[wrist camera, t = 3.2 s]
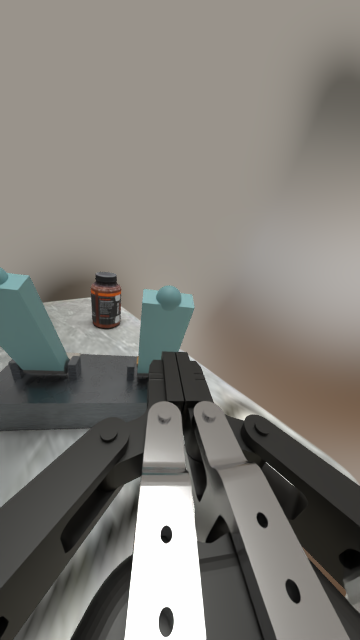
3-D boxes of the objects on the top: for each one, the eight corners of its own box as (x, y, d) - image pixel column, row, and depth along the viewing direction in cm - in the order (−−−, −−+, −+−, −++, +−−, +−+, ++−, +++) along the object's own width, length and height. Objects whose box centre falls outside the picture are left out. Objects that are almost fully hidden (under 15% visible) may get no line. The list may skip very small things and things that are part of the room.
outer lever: (136, 379, 23) (142, 294, 13) (138, 364, 24) (144, 277, 14) (168, 379, 23) (198, 300, 13) (168, 365, 25) (194, 283, 15)
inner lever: (26, 376, 20) (-74, 270, 10) (34, 360, 22) (-48, 252, 12) (66, 377, 21) (8, 279, 11) (71, 362, 22) (24, 261, 12)
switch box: (-20, 431, 18) (-42, 386, 16) (27, 374, 26) (18, 337, 23) (190, 424, 23) (200, 388, 20) (180, 378, 30) (187, 347, 27)
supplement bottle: (125, 325, 42) (127, 277, 37) (99, 332, 38) (98, 278, 33) (112, 315, 46) (113, 270, 41) (88, 320, 42) (85, 270, 37)
